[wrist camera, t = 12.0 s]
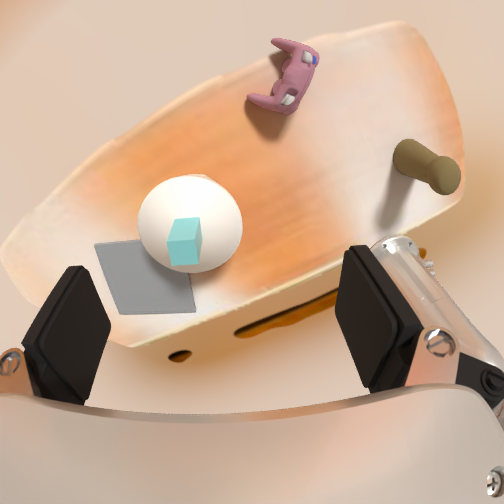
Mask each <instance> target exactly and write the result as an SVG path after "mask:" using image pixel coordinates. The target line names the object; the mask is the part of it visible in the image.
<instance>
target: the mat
mask: <svg viewBox="0 0 504 504" xmlns="http://www.w3.org/2000/svg"><path fill="white" fill-rule="evenodd" d="M94 247H95V250H96V253H97V256H98V259H99V262H100V265H101V267H102V270H103V273H104V276H105V278H106V281H107V284H108V286H109V289H110V292H111V294H112V297H113V299H114V302H115V304H116V306H117V309H118V311H119V314H156V313H183V312H196V307H195V302H194V298H193V293H192V288H191V283H190V278H189V273H184V272H179V271H175V270H172V269H170V268H168V267H165V266H164V265H162V264H160V263H159V262H158V261H156V260H155V259H154V258H153V257H152V256H151V255H150V254H149V253H148V252H147V250H146V249H145V247H144V246H143V244H142V241H141V240H131V241H120V242H110V243H100V244H95V245H94Z"/></svg>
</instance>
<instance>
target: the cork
mask: <svg viewBox="0 0 504 504" xmlns="http://www.w3.org/2000/svg"><path fill="white" fill-rule="evenodd" d="M393 161H394V166H395V167H396V169H397V171H399V172H400V173H401V174H404V175H406V176H409V177H412V178H415V179H418V180H420V181H423V182H426V183H428V184H429V185H430V187H431V188H432V189H433V190H434V191H435V192H436V193H438V194H441V195H449V194H451V193H453V192H454V191H455V190H456V189H457V188H458V186H459V184H460V180H461V172H460V169H459V166H458V165H457V163H456V162H455V161H454V160H453V159H451V158H449V157H445V156H438V155H436V154H435V153H433V152H432V151H430V150H429V149H428V148H426V147H425V146H423V145H421V144H420V143H418V142H417V141H415V140H413V139H405V140H402V141H401V142H400V143H399V144H398V145H397V147H396V148H395V151H394V154H393Z"/></svg>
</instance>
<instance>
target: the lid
mask: <svg viewBox="0 0 504 504" xmlns="http://www.w3.org/2000/svg"><path fill="white" fill-rule="evenodd" d="M138 232H139V236H140V239H141V241H142V244H143V246H144V247H145V249H146V250H147V252H148V253H149V254H150V255H151V256H152V257H153V258H154V259H155V260H156V261H158V262H159V263H160V264H162V265H164V266H165V267H168V268H170V269H172V270H175V271H179V272H184V273H200V272H205V271H209V270H212V269H215V268H217V267H219V266H220V265H222V264H223V263H225V262H226V261H227V260H228V259H229V258H230V257H231V256H232V255H233V254H234V252H235V251H236V249H237V247H238V245H239V243H240V240H241V236H242V218H241V213H240V209H239V207H238V205H237V203H236V201H235V199H234V198H233V196H232V195H231V194H230V193H229V192H228V191H227V190H226V189H225V188H224V187H223V186H221V185H220V184H218V183H217V182H215V181H213V180H211V179H208V178H205V177H201V176H195V175H182V176H176V177H173V178H170V179H167V180H165V181H163V182H162V183H160V184H158V185H157V186H156V187H155V188H154V189H152V191H151V192H150V193H149V194H148V195H147V197H146V198H145V200H144V202H143V203H142V205H141V208H140V211H139V214H138Z"/></svg>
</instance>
